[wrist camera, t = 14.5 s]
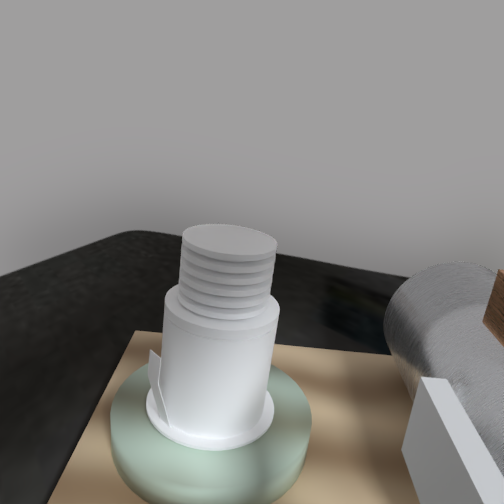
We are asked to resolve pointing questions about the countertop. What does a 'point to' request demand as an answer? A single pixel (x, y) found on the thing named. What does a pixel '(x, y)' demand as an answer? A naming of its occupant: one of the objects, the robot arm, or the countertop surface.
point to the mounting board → (334, 438)
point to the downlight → (217, 341)
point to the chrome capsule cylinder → (454, 340)
